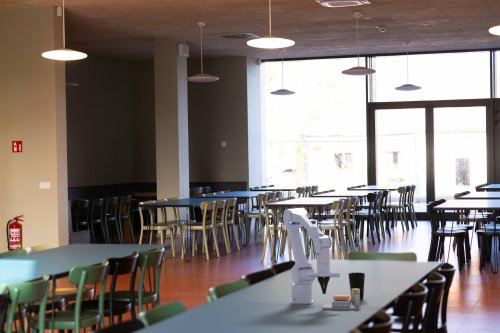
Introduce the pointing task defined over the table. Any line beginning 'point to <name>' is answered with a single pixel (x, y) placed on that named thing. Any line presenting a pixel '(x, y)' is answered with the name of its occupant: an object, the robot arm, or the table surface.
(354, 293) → the peg
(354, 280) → the cup
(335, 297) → the pin
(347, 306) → the dock
